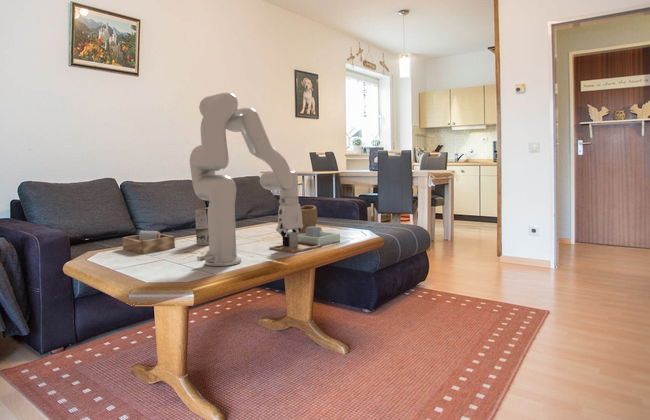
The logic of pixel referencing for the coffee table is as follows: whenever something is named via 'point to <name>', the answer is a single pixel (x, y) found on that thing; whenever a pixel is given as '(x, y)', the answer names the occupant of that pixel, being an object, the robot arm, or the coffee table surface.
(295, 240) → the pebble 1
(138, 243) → the wooden box
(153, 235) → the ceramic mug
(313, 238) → the pale green square tray
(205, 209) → the coffee box
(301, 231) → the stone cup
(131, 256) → the coffee table surface
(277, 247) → the tray
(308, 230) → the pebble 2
